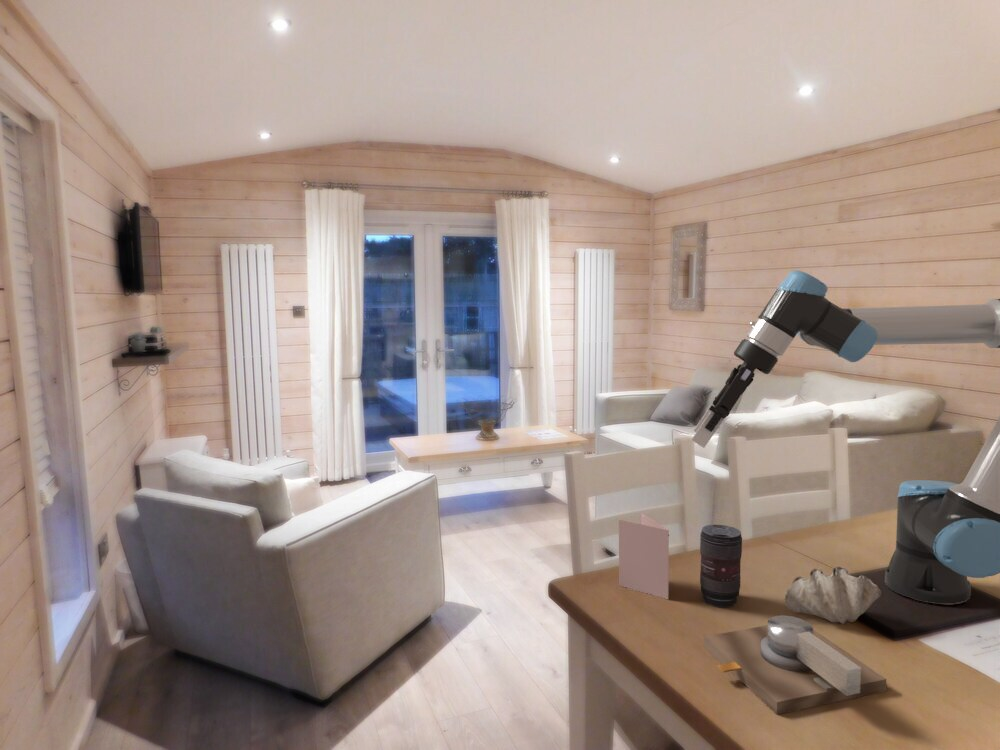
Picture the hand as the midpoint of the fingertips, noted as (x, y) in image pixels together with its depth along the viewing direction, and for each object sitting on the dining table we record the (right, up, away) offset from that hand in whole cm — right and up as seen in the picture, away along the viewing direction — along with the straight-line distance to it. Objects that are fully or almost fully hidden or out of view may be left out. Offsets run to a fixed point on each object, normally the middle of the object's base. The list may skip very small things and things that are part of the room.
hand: (698, 438), depth 130 cm
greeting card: (-8, -34, +12) cm, 37 cm away
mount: (+8, -37, -19) cm, 42 cm away
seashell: (+25, -35, -2) cm, 43 cm away
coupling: (+11, -34, -24) cm, 43 cm away
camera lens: (+6, -34, +6) cm, 35 cm away
